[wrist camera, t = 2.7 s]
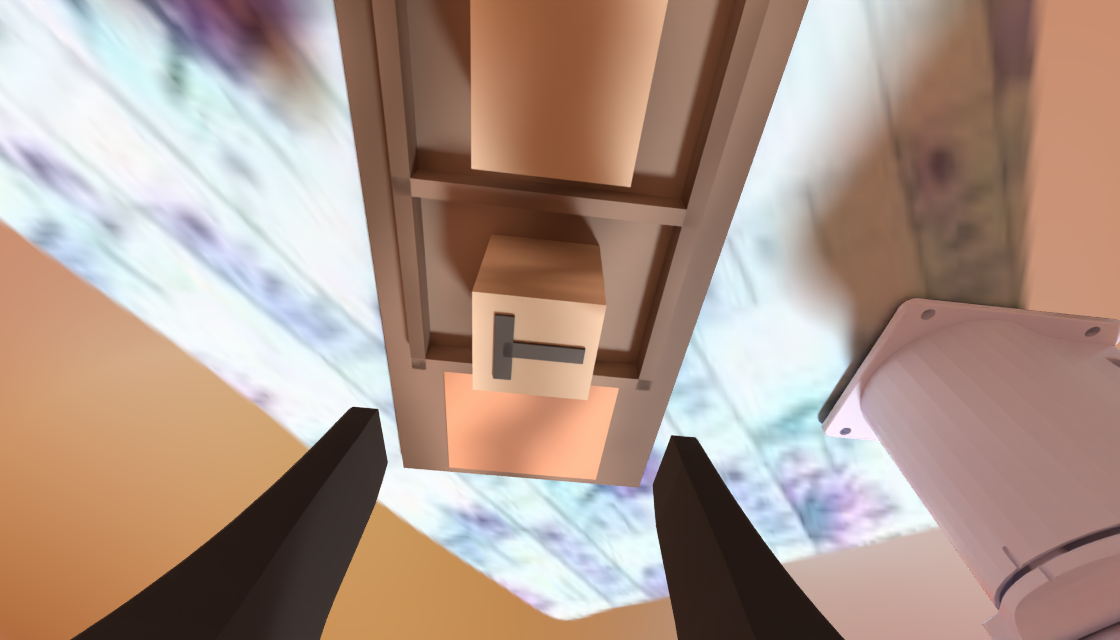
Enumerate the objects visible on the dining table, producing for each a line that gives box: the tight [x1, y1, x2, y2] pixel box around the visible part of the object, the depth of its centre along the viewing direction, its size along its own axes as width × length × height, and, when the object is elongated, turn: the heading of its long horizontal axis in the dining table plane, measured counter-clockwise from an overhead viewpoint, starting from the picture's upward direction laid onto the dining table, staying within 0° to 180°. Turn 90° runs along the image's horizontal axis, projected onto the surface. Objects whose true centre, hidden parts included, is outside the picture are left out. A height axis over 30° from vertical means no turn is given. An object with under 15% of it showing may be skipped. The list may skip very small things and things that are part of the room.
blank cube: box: [470, 0, 668, 187], centre depth 12 cm, size 4×4×4 cm
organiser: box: [335, 0, 809, 487], centre depth 18 cm, size 13×25×2 cm, turn 174°
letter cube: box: [472, 234, 607, 400], centre depth 16 cm, size 4×4×4 cm
